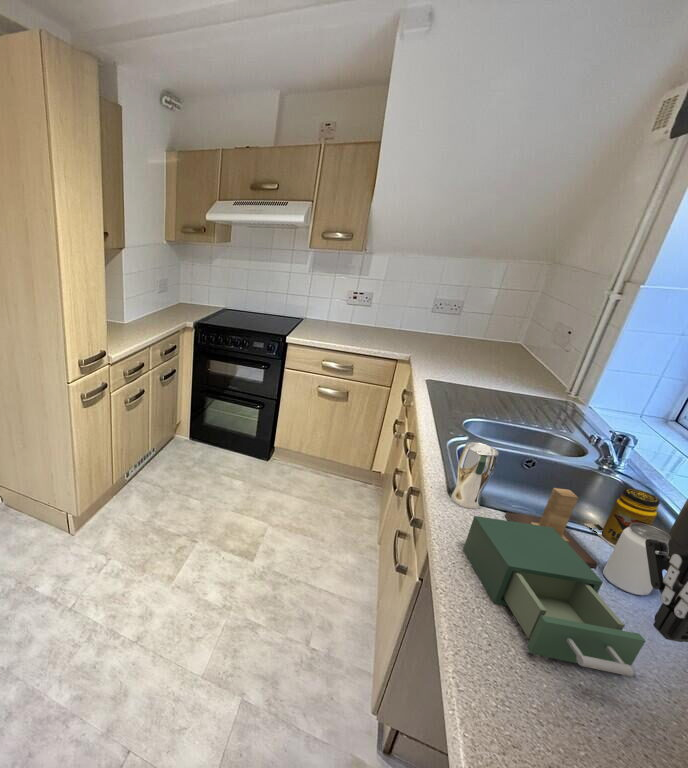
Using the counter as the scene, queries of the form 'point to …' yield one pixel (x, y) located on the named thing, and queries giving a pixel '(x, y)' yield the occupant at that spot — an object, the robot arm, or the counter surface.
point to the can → (633, 559)
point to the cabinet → (521, 555)
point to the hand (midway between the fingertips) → (667, 634)
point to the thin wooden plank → (572, 541)
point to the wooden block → (558, 510)
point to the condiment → (628, 514)
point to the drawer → (571, 623)
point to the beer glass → (474, 473)
